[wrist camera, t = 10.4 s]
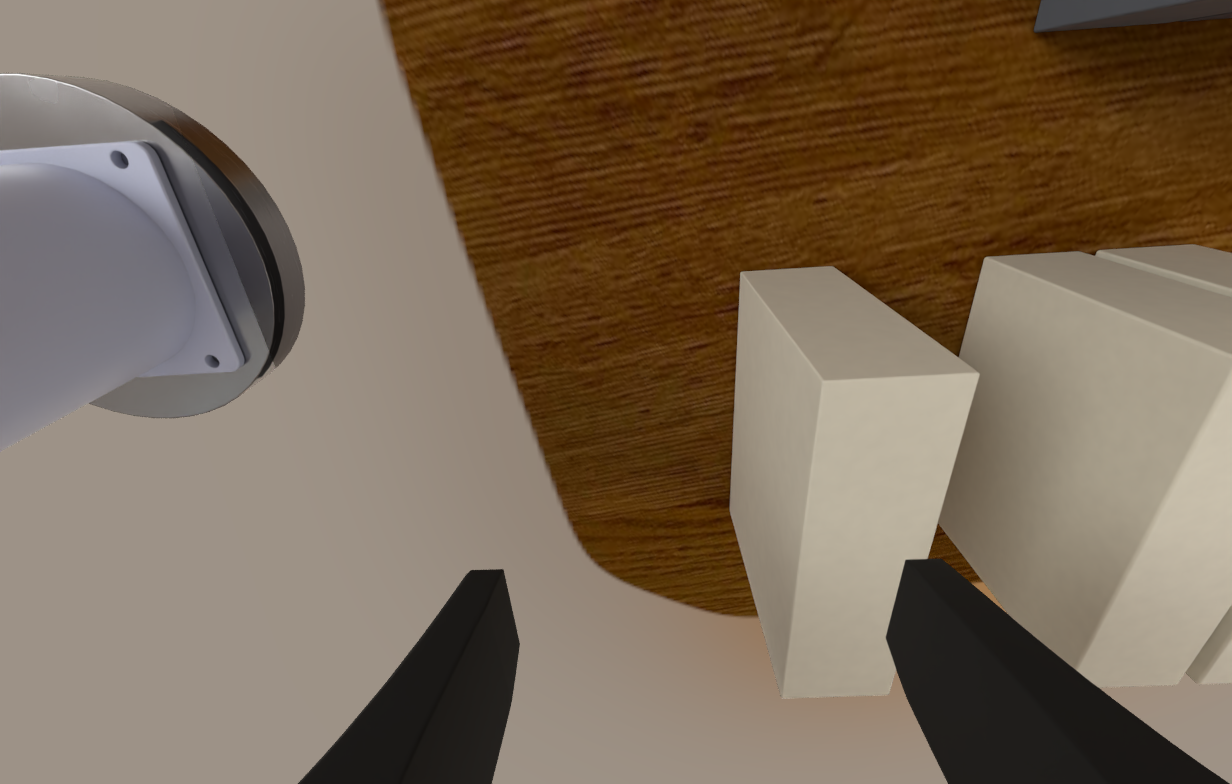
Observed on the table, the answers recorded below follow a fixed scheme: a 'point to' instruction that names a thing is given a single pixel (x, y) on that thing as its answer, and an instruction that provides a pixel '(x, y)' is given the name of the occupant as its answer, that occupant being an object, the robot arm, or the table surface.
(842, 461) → the white book
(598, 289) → the table surface
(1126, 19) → the grey book
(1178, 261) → the white book
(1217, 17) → the grey book
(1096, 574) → the white book
